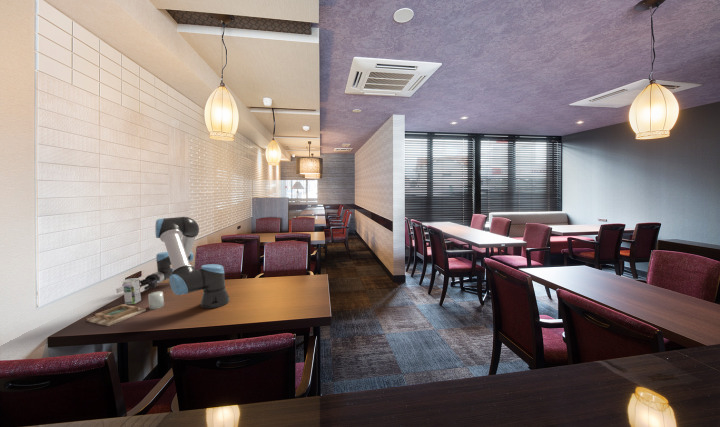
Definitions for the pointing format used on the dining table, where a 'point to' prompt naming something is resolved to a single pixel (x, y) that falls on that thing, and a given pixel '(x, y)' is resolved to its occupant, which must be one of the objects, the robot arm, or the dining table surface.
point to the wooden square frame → (115, 314)
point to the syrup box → (131, 291)
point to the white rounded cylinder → (156, 300)
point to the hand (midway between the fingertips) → (128, 290)
